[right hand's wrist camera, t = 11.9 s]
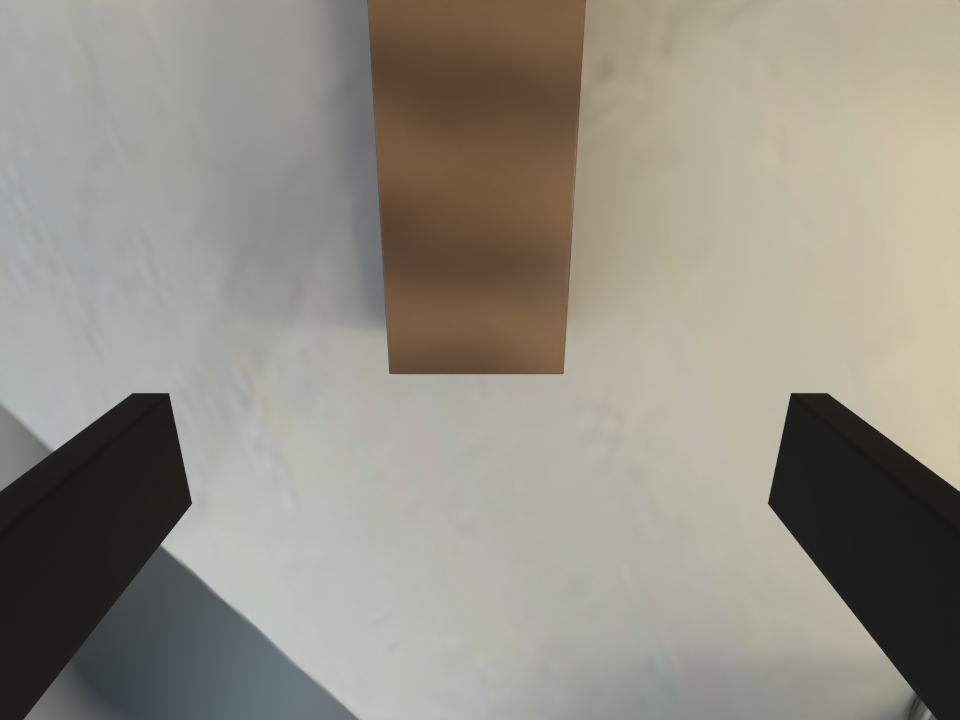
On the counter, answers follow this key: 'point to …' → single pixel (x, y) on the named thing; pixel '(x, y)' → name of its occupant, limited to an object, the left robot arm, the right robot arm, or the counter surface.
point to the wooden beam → (476, 180)
